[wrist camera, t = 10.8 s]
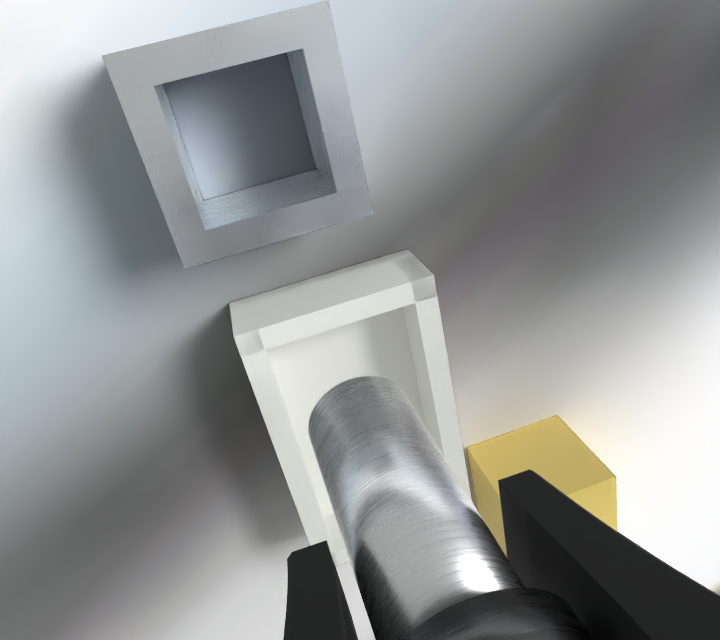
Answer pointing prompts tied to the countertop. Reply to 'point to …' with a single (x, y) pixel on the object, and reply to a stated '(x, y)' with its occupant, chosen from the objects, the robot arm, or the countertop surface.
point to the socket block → (266, 201)
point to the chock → (541, 470)
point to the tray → (345, 365)
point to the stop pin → (419, 528)
